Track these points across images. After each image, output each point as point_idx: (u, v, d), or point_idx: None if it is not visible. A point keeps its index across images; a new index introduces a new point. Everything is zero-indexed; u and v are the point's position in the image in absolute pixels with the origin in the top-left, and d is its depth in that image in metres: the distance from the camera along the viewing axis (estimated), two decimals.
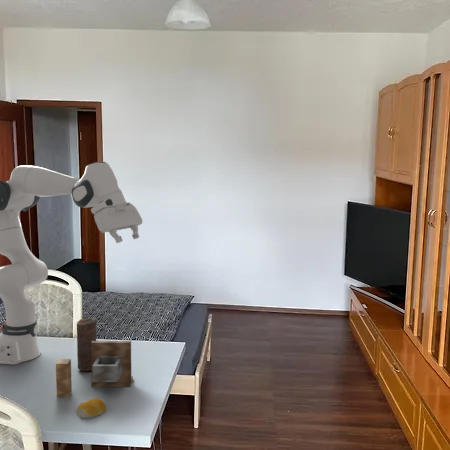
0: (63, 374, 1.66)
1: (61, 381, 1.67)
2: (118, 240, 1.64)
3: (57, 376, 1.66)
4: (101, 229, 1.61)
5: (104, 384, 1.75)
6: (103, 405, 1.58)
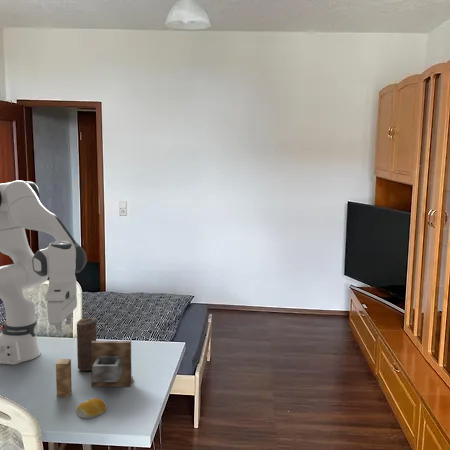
0: (63, 374, 1.66)
1: (61, 381, 1.67)
2: (60, 332, 1.61)
3: (57, 376, 1.66)
4: (51, 321, 1.55)
5: (104, 384, 1.75)
6: (103, 405, 1.58)
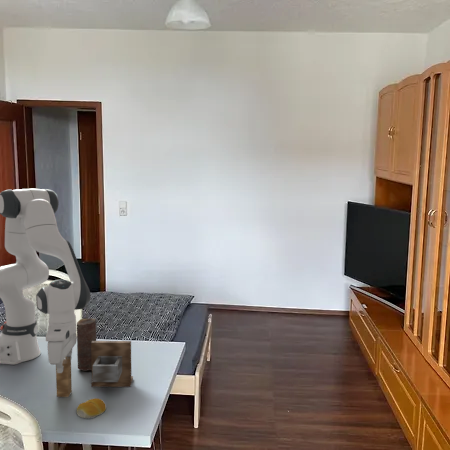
0: (63, 374, 1.66)
1: (61, 381, 1.67)
2: (60, 371, 1.62)
3: (57, 376, 1.66)
4: (52, 362, 1.57)
5: (104, 384, 1.75)
6: (103, 405, 1.58)
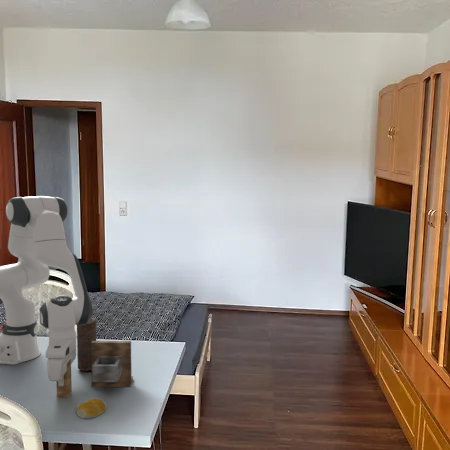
0: None
1: None
2: (61, 384, 1.65)
3: None
4: (51, 378, 1.58)
5: (104, 384, 1.75)
6: (103, 405, 1.58)
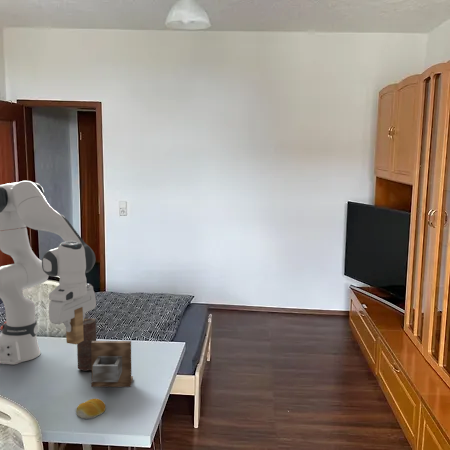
0: (71, 320, 1.64)
1: None
2: (68, 330, 1.63)
3: None
4: (51, 320, 1.57)
5: (104, 384, 1.75)
6: (103, 405, 1.58)
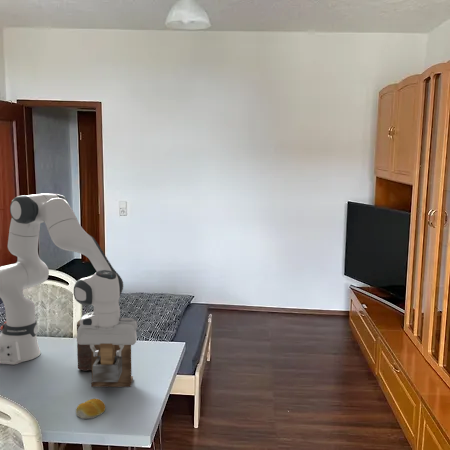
0: None
1: None
2: None
3: None
4: None
5: (104, 384, 1.75)
6: (102, 406, 1.58)
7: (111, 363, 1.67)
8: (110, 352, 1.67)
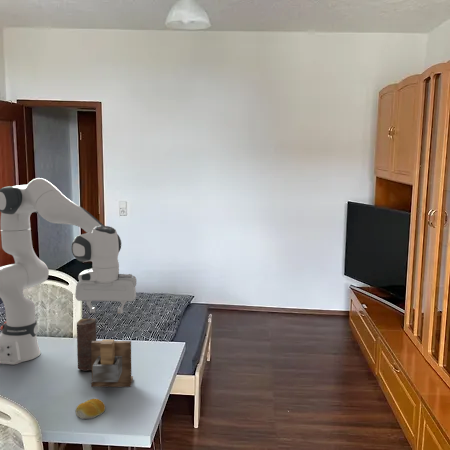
0: None
1: None
2: None
3: None
4: None
5: (104, 384, 1.75)
6: (102, 406, 1.57)
7: (111, 363, 1.67)
8: (110, 352, 1.67)
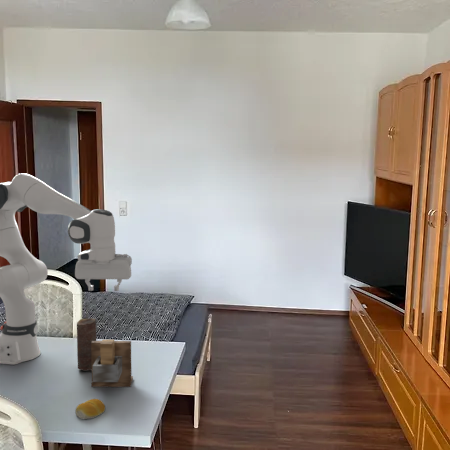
0: None
1: None
2: None
3: None
4: None
5: (104, 384, 1.75)
6: (102, 406, 1.57)
7: (111, 363, 1.67)
8: (110, 352, 1.67)
